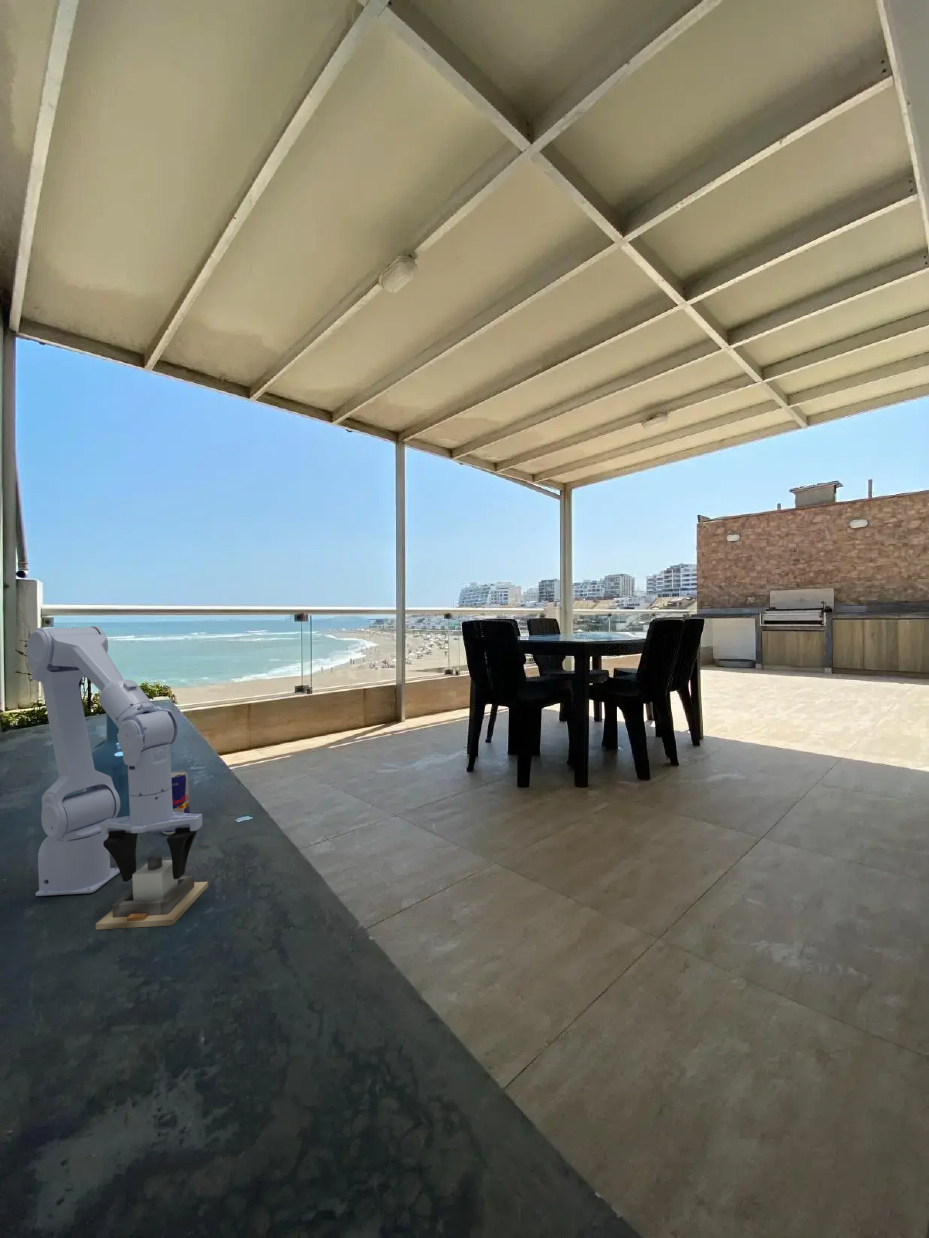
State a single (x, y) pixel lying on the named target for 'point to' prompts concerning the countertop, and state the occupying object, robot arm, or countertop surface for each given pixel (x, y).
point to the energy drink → (179, 794)
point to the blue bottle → (113, 765)
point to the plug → (154, 880)
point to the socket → (153, 907)
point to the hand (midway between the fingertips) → (154, 877)
